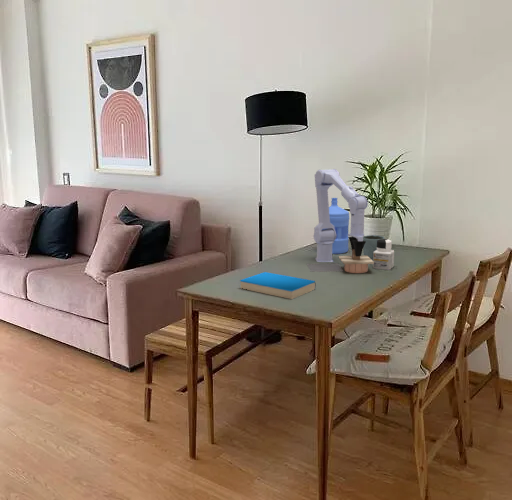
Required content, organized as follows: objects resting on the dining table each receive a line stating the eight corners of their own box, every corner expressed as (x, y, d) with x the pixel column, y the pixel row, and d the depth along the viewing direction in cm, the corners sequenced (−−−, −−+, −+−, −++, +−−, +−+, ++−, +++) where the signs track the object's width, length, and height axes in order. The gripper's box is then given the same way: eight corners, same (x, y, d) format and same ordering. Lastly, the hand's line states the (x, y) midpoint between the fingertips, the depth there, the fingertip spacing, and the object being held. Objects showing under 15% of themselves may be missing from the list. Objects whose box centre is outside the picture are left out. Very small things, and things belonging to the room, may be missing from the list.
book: (292, 290, 196) (239, 279, 211) (292, 301, 197) (239, 289, 212) (316, 280, 209) (265, 270, 224) (316, 290, 210) (265, 280, 225)
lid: (338, 257, 242) (338, 247, 241) (367, 257, 242) (367, 246, 241) (343, 264, 229) (344, 253, 228) (373, 263, 230) (374, 252, 229)
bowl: (342, 268, 242) (343, 258, 241) (364, 268, 242) (365, 257, 241) (346, 274, 232) (347, 263, 231) (369, 274, 232) (370, 263, 231)
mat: (306, 265, 250) (306, 263, 250) (338, 264, 250) (338, 263, 250) (310, 272, 235) (310, 271, 235) (344, 272, 235) (344, 271, 235)
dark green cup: (382, 259, 260) (383, 235, 258) (384, 264, 250) (386, 239, 248) (361, 259, 261) (361, 235, 259) (363, 263, 251) (363, 238, 249)
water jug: (313, 249, 285) (314, 197, 279) (340, 247, 289) (341, 196, 284) (325, 255, 270) (326, 200, 264) (353, 253, 275) (355, 199, 269)
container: (372, 268, 242) (373, 240, 240) (377, 264, 249) (378, 237, 246) (389, 270, 239) (390, 241, 236) (393, 266, 245) (394, 238, 243)
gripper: (345, 221, 239) (344, 251, 242) (351, 226, 225) (350, 258, 228) (360, 221, 240) (359, 250, 242) (368, 226, 225) (366, 257, 228)
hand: (356, 254), depth 235 cm, fingers open, 7 cm apart
